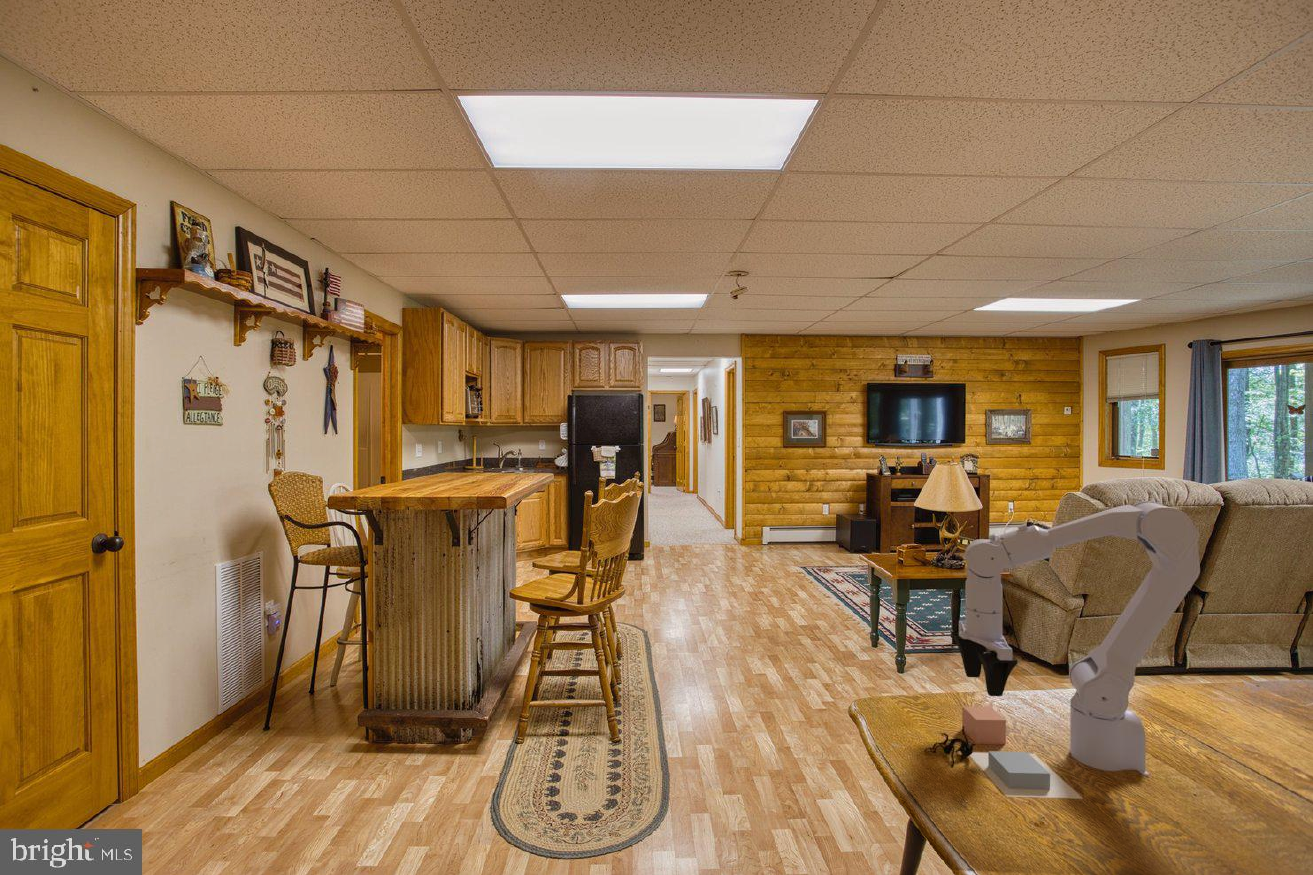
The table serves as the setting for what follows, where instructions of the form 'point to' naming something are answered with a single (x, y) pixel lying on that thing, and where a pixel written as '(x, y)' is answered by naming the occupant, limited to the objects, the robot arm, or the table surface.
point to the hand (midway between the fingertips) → (983, 685)
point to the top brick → (984, 725)
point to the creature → (965, 751)
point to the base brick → (1018, 770)
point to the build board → (1056, 789)
